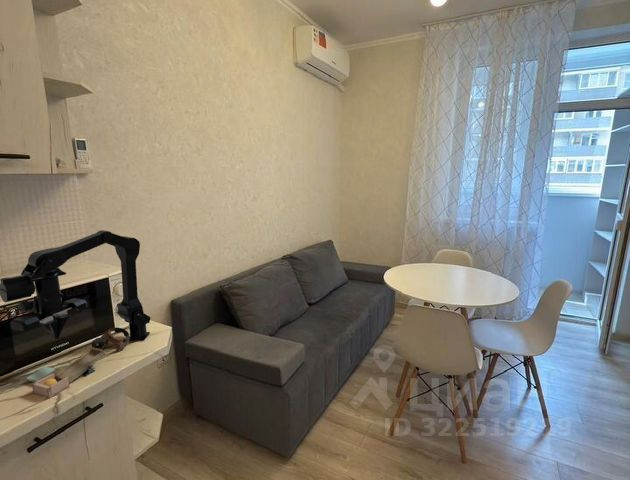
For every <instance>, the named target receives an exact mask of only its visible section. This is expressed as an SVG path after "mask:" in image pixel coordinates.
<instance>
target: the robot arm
mask: <svg viewBox="0 0 630 480" xmlns="http://www.w3.org/2000/svg"><path fill="white" fill-rule="evenodd" d="M104 244H108V245H109V246H113V247H114V249H115V253H116V255H117V257H118V258H119V261H120V268H121V284H122V285H121V287H122V299H121V302H117V303H116V307H117V312H116V314H117V315H119V317H120V318H121V319H123V320H124V322H126V323H128V328H129V329H128V331H129V342H136V341H138V342H139V341H141V342H142V341H145V340H146V339H147V338H148V337H149V335H150V334H151V331H147V325H148V324H150V323H151V318H152V317H151V316H149V315H147V314H146V313H145V312H144V308H143V305H142V302H141V301H140V299H139V296H138V295H139V294H138V280H137V279H138V278H137V259H138V258H139V254H140V249H141V242H140V240H138V239H137V238H135V237H130V236H125V235H124V236H122V235H119V234H116V233H113V232H111V231H109V230H103V229H102V230H98V231H97V232H95V233H93V234H89V235H87V236H84V237H82V238H80V239H77V240H75V241H72V242H69V243H67V244H64V245H62V246H57V247H52V248H51V247H50V248H46V249H42V250H41V249H40V250H35V251H34V252H32V253H31V254H30V255H29V256H28V258H27V259H28V260H27V264H26V265H25V267H24V268H23V270H22V271H21V272H20V275H16V276H12V277H2V278H0V298H1V300H2V301H3V303H4V304H5V303H9V302H13V301H19V300H22V299H27V298H29V297H32V295H34V294H35V295H34V296H33V301H29V300H28V299H27V300H23V301H21V302H18V303H17V305H18V307H17V308H18V310H19V312H20V313H21V314H22V313H25V312H27V314H25V315H23V316H20V317H17V318H14V319H12V321H11V323H10V327H11V330H15V331H20V332H29V331H30V330H33V329H36V328H38V327H39V326H40V325H41V326H42V327H44V328H45V329H46V330H47V332H48V333H49V335H50V336H51V338H52V339H53V340H57V339H58V340H59V338H60V336H61V333H62V331H63V328H64V326H65V325H66V323H67V320H68V319H69V318H70V317H71V314H68V311H70V310H72V309H75V310H77V311H82V310H85V309H87V308H88V302H87V300H85V299H83V298H82V299H81V298H76V297H73V298H70V299H68V300H65V301H63V300H62V299H63V298H64V297H65V293H63V292H61V286H60V279H59V277H60V276H66V275H67V272H65V271H63V269H60V267H61V266H63V265H65V263H66V262H67V261H68V260H70V259H72V258H74V257H76V256H79V255H81V254H83V253H84V254H85V252H88V251H91V250H93V249H95V248H97V247H100V246H102V245H104ZM31 313H34V314H36V315H30V314H31ZM28 314H29V315H28Z"/></svg>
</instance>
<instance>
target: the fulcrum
mask: <svg viewBox="0 0 630 480" xmlns="http://www.w3.org/2000/svg"><path fill="white" fill-rule="evenodd" d="M93 373H96V370H95V369H93V367H92V368H89V369H87V370H86V371H85V372H83V373H82V374H81V375H80V376H83V377H88V376H89V375H91V374H93Z"/></svg>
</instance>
